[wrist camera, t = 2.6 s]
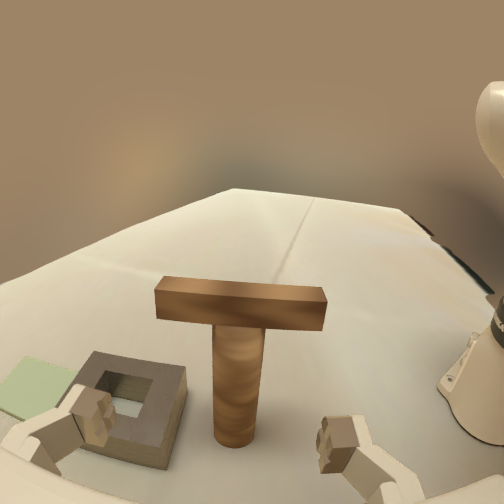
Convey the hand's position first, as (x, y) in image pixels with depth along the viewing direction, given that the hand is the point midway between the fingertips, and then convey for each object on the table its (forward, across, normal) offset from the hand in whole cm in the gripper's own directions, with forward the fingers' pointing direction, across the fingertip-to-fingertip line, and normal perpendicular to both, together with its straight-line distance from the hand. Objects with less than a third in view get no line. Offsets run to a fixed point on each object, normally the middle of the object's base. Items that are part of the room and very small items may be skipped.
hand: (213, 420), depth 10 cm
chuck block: (+12, +11, +17) cm, 23 cm away
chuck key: (+12, -1, +17) cm, 21 cm away
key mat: (+12, +24, +17) cm, 31 cm away
